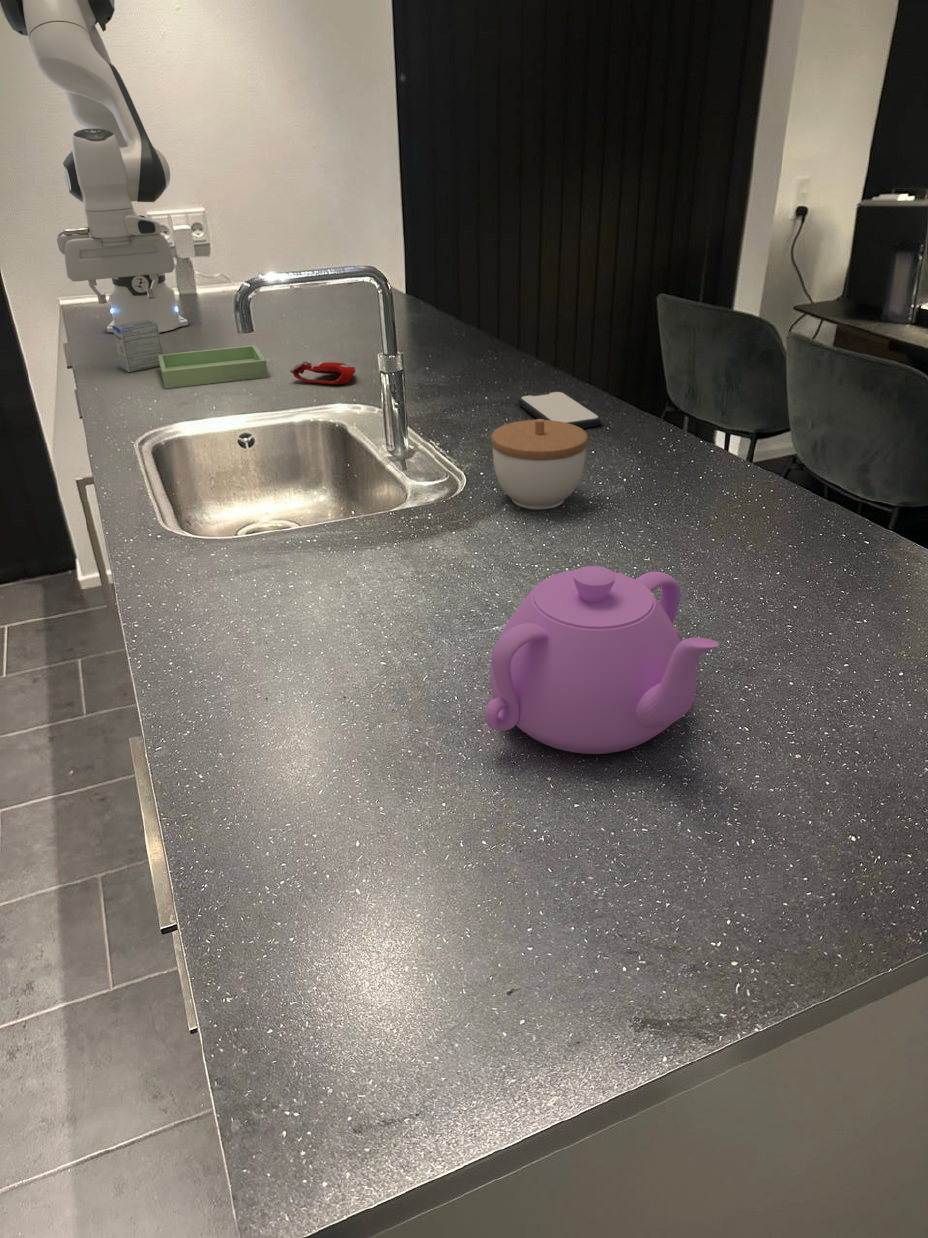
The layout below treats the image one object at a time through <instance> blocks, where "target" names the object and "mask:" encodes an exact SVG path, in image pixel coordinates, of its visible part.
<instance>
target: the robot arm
mask: <svg viewBox="0 0 928 1238" xmlns="http://www.w3.org/2000/svg"><path fill="white" fill-rule="evenodd" d="M115 9H116V8H115V0H0V11H1V13H2V15H3V17H4V19H5V21H7V23H8V25H9V26H10V27H11V29H12V30H13V31H15V32H16V33H18V34H20V35H21V36H27V37H28V41H29V45H30V48H31V51H32V55H33V57H34V59H35V63H36V65H37V67H38V69H39V71H40V72H41V74H42V75H43V76H44V77H45V78H46V79H47V80H48V81H49V82H50V83H52V84H53V85H55V86H56V87H58V88H59V89H61V90H64V92H65V94H66V98H67V101H68V104H69V107H70V110H71V113H72V116H73V118H74V119H75V121H76V122H77V123H78V125H80V126H81V127H82V129H80V130H77V131H75V132H73V133H72V135H71V140H72V150H71V151H70V152H69V153H68V155H67V156H66V157H65V159H64V160H63V161H62V165H63V179H64V183H65V185H66V187H67V189H68V193H69V194H70V195H71V196H73V197H74V198H75V199H76V200H78V201H79V202H80V203H82V204H83V210H84V214H85V219H86V224H87V226H86V227H77V228H76V227H75V228H65V229H63V230H62V231H61V232H59V233H58V234H57V236H56V241H57V246H58V247H57V248H58V250H59V251H60V253H61V254H62V255H63V259H64V266H65V273H66V276H67V278H68V279H69V280H70V281H71V282H74V283H75V282H86V281H87V283H88V286H89V288H90V289H91V290H92V291H93V293H94V294H95V295H96V296H97V301H98V304H99V305H103V304H109V308H110V310H109V311H110V314H111V317H112V321H111V322H110V323H109V324H108V325H107V327H106V332H107V333H113V334H114V332H113V328H112V327H113V326H116V325H121V324H127V323H133V322H139V321H145V320H149V321H152V322H154V323H156V324H158V329H159V333H163V332H168V331H173V330H175V329H178V328H181V327H185V326H189V321H188V319H186V318H184V317H183V316H181V315H180V313H179V307H178V304H177V299H176V293H175V290H174V289H172V287H171V286H169V285H168V284H167V282H166V274H170V273H173V271H174V270H175V267H176V264H175V260H174V256H173V252H172V248H171V246H170V244H169V242H168V239H167V238H166V237H165V236H164V235H163V234H161V233H162V225H161V222H160V221H159V220H157V219H155V218H151V217H147V216H145V215H141V214H139V215H138V214H137V213H136V211H135V208H134V206H133V202H137V203H155V202H156V201H157V200H159V198H160V197H161V196H162V195H163V193H164V192H166V190H167V189H168V187H169V185H170V183H171V170H170V165H169V162H168V161H167V159H166V156H165V155H164V154H163V153H162V152H161V151H160V150H159V149H158V148H156V147H154V145H153V144H152V141H151V140H150V138H149V135H148V133H147V130H146V129H145V126H144V124H143V122H142V120H141V117H140V115H139V112H138V111H137V109H136V106H135V104H134V102H133V99H132V97H131V94H130V93H129V90H128V89H127V87H126V84H125V82H124V80H123V78H122V76H121V74H120V72H119V71H118V69H117V68H116V66H115V65H114V64H112V61H111V58H110V56H109V52H108V50H107V47H106V45H105V43H104V41H103V38H102V36H101V34H100V32H99V30H98V28H97V26H96V25H97V24H98V25H99V27H100V29H101V31H102V32H105V31H106V30H107V24H108V23H110V21H111V20H112V18H113V16H114V13H115ZM83 128H84V129H83ZM106 279H107V280H108V279H111V283H112V284H113V285H114V286H113V289H112V291H111V292H110V293H109V295H108V301H107V299H106V298H107V296H106V293H105V292H100V291H99V290H98V288H97V287H96V286H97V285H98V283H97V280H106Z"/></svg>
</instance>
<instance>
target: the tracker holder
mask: <svg viewBox="0 0 928 1238" xmlns="http://www.w3.org/2000/svg"><path fill="white" fill-rule="evenodd" d="M305 371H309V372H313V373H316V374H324V375H339V377H338V378H337V379H335V380H320V379H310V378H306V377H303V376H301V375H300V374H304V373H305ZM289 373H290V374H292V375H293V377H294V378H296V379H297V380H300V381H303V382H306V383H314V384H325V385H339V386H341V385H345V384H347V383H349V382H350V381H351V379H352V378H353V376H354V375H355V373H356V367H354V366H349V365H347V364H346V363H344V362H339V361H326V362H322V363H320V364H319V365H314V366H312V362H311V361H307V360H304V361H302V362H300V363H298V364H296V365H295V366H294V367H292V368H291V369H290V370H289Z"/></svg>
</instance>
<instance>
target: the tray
mask: <svg viewBox="0 0 928 1238" xmlns="http://www.w3.org/2000/svg"><path fill="white" fill-rule="evenodd" d="M158 359H159V365H160V366H159V370H160V374H161V378H162V381H163V385H164V389H173V388H175V389H176V388H182V387H192V386H202V385H209V384H210V385H211V384H218V383H219V384H220V383H229V382H236V381H245V380H255V379H263V378H269V377H268V376H269V375H268V369H267V368H268V367H267V361H266V359H265V357H264V356H263V354H262V353H261V351H260V350H259V349H258V346H257V345H255V344H252V345H243V346H232V347H223V348H222V347H221V348H212V349H201V350H193V351H191V350H190V351H182V352H173V353H163V354H161V355H158Z"/></svg>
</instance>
